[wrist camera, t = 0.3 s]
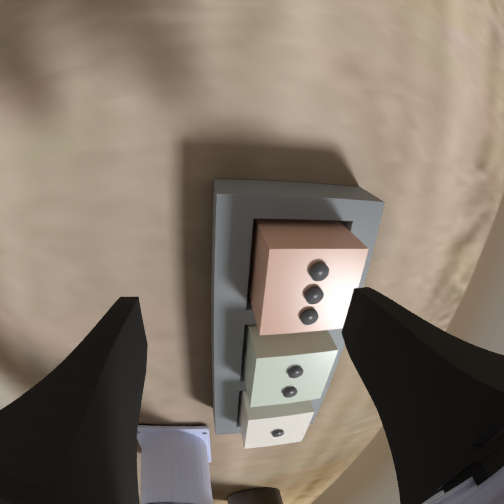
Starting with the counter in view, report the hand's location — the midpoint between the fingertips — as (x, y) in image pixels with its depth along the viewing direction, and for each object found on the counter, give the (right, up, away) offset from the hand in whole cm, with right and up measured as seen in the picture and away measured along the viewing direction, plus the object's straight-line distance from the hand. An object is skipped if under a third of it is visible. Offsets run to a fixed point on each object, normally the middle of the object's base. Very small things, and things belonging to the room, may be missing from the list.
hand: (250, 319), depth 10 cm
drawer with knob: (+1, -10, +14) cm, 17 cm away
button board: (+2, -3, +12) cm, 13 cm away
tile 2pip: (+2, -4, +11) cm, 12 cm away
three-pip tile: (+2, +2, +8) cm, 9 cm away
